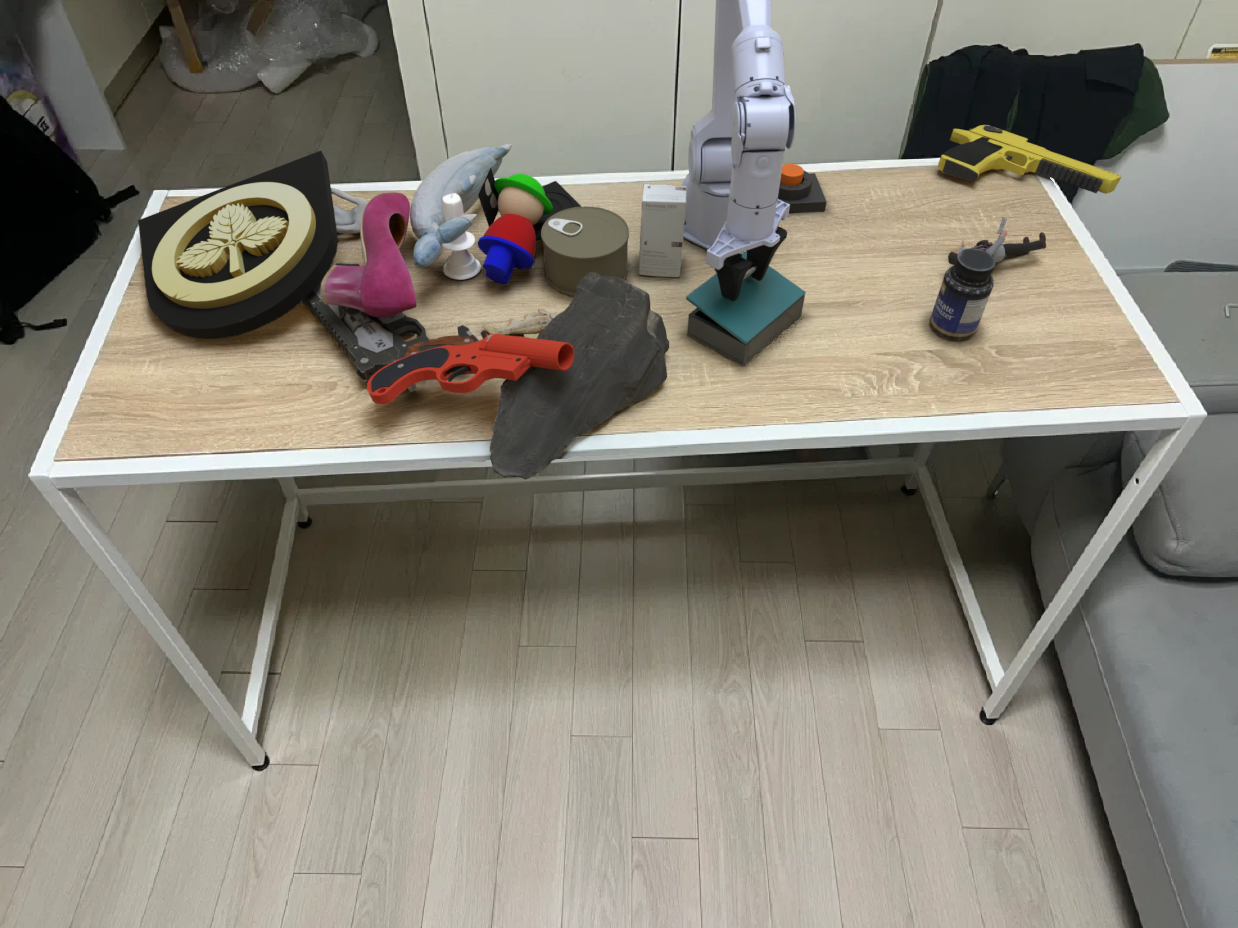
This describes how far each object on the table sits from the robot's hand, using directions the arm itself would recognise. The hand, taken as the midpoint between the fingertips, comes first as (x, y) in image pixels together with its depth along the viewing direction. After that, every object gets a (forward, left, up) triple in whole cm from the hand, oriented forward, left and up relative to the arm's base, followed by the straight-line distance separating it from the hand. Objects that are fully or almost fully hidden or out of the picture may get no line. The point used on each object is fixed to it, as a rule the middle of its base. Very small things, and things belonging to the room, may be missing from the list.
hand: (741, 287), depth 120 cm
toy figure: (-30, -17, -3) cm, 34 cm away
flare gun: (-13, -43, +2) cm, 45 cm away
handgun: (+13, +51, -4) cm, 52 cm away
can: (-23, -5, -6) cm, 24 cm away
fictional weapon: (-32, -24, -5) cm, 41 cm away
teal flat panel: (+1, 0, -1) cm, 1 cm away
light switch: (-35, -7, -4) cm, 36 cm away
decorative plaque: (-45, -46, -3) cm, 64 cm away
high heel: (-44, -28, +1) cm, 52 cm away
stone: (-8, -12, -1) cm, 14 cm away
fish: (-22, -18, -5) cm, 29 cm away
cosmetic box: (-15, +2, -6) cm, 17 cm away
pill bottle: (+22, +18, -6) cm, 29 cm away
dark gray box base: (+1, 0, -6) cm, 6 cm away
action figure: (+23, +40, -4) cm, 47 cm away
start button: (-12, +29, -3) cm, 31 cm away
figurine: (-67, -29, -3) cm, 73 cm away
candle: (-36, -17, -6) cm, 40 cm away
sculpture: (-30, -20, +5) cm, 37 cm away
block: (-12, +29, -6) cm, 32 cm away
